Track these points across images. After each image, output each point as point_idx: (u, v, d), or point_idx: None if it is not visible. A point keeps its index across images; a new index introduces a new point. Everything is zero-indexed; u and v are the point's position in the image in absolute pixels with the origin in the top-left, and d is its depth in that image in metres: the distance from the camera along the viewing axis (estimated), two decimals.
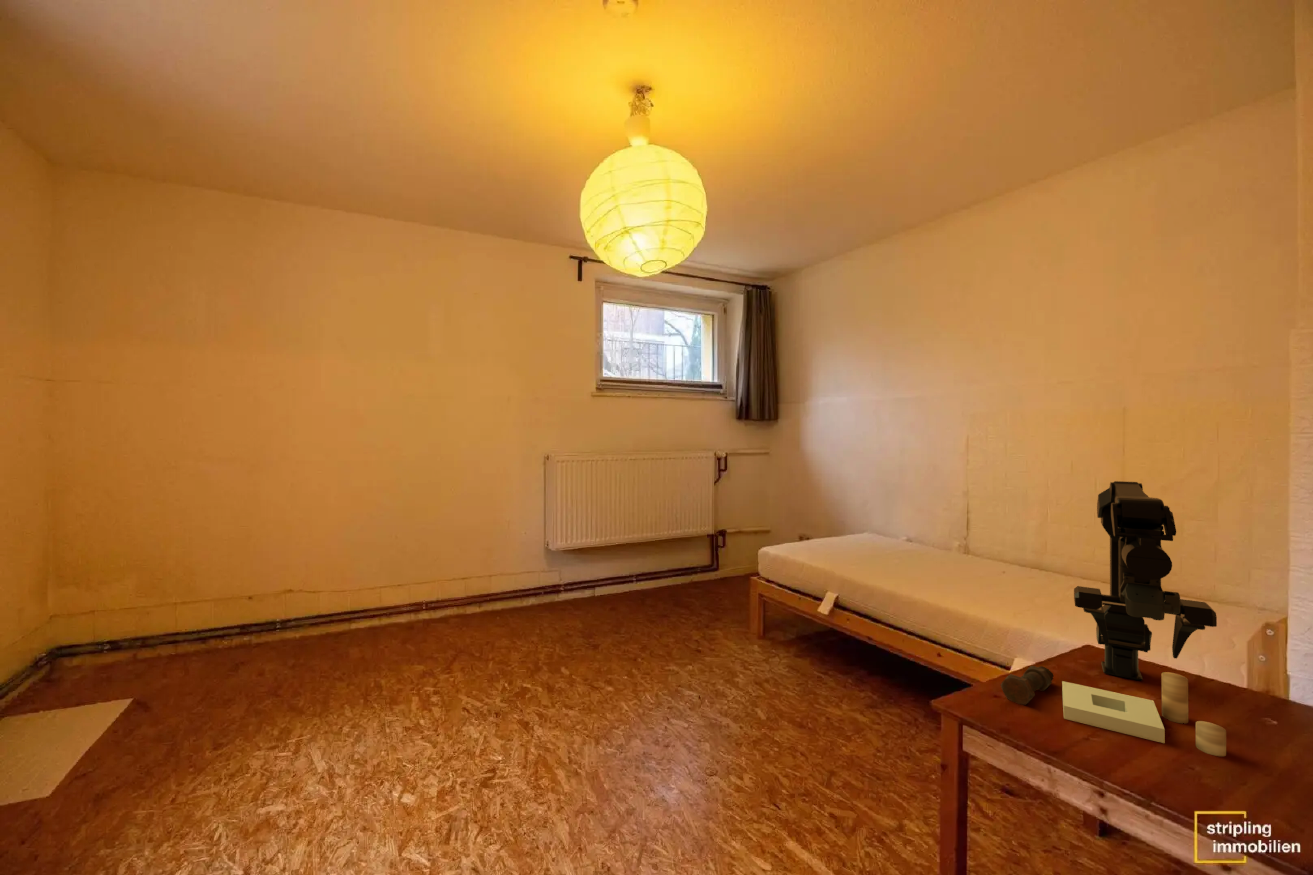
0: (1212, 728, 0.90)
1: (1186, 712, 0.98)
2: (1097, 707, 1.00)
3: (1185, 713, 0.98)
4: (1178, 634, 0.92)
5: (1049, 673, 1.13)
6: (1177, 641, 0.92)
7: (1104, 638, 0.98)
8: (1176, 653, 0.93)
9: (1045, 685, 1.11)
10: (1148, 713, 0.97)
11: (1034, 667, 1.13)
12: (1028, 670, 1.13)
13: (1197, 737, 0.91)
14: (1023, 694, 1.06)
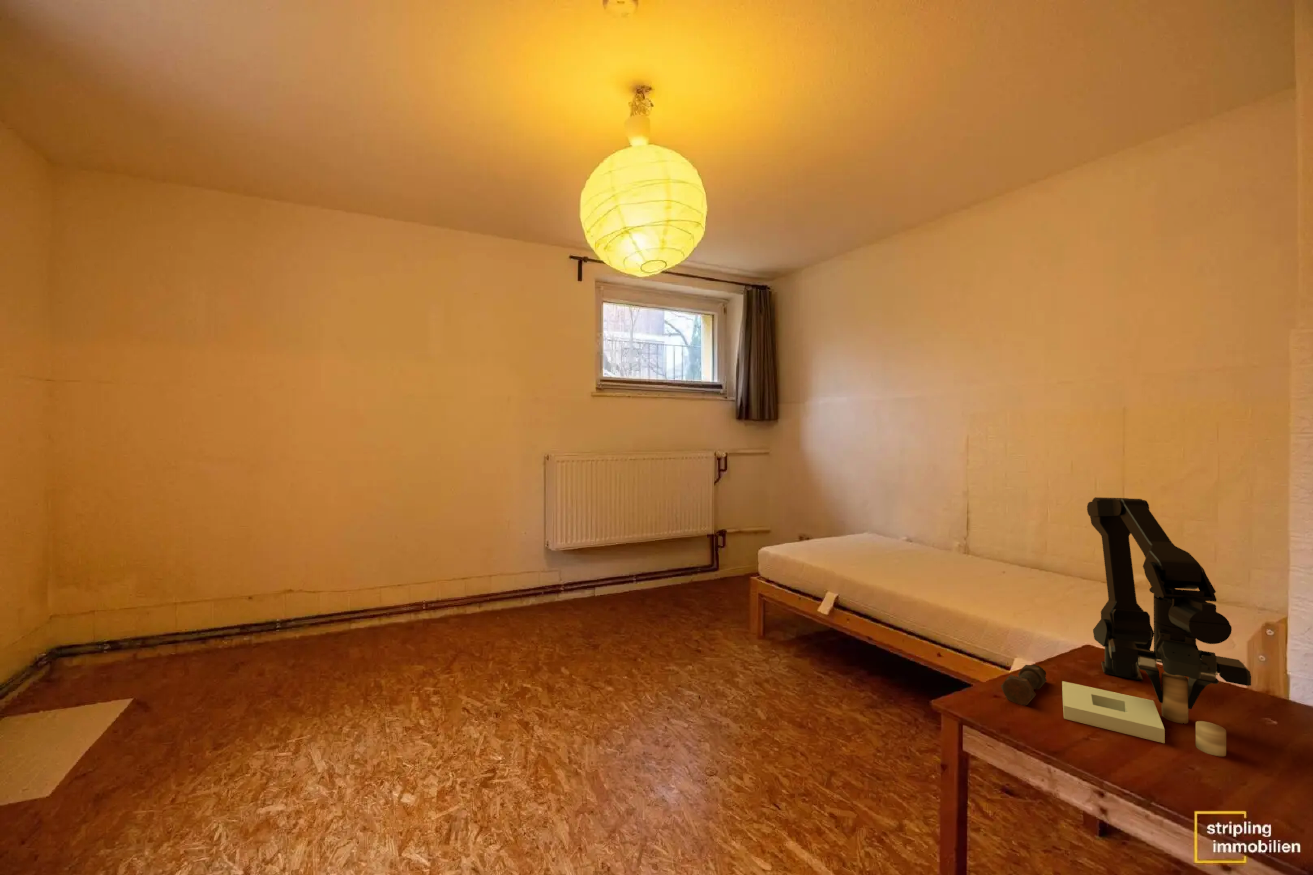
0: (1212, 728, 0.90)
1: (1186, 712, 0.98)
2: (1097, 707, 1.00)
3: (1185, 713, 0.98)
4: (1192, 686, 0.98)
5: (1042, 671, 1.14)
6: (1192, 693, 0.98)
7: (1158, 695, 1.01)
8: (1191, 704, 0.98)
9: (1041, 684, 1.11)
10: (1148, 713, 0.97)
11: (1029, 666, 1.14)
12: (1023, 669, 1.14)
13: (1197, 737, 0.91)
14: (1024, 695, 1.05)
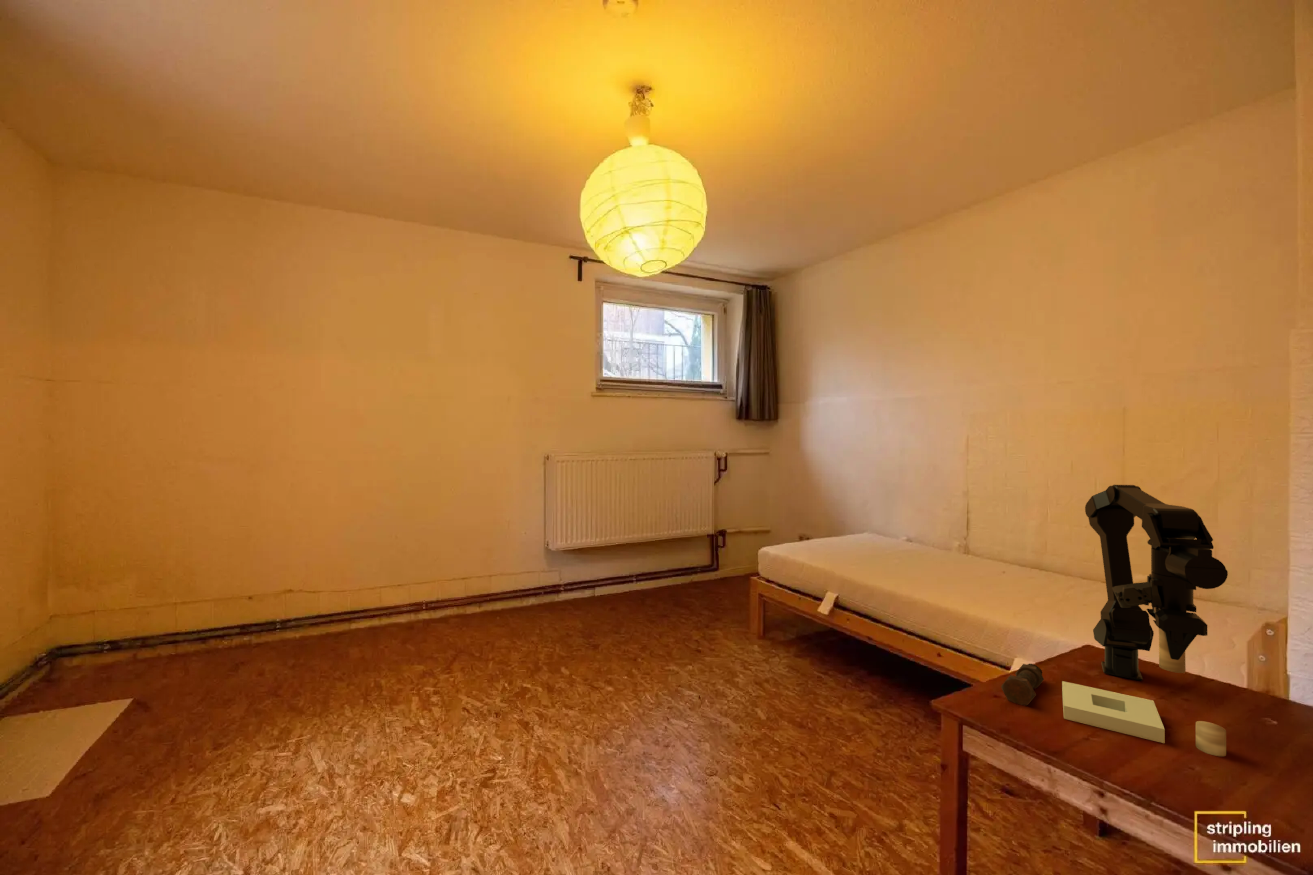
0: (1212, 728, 0.90)
1: (1165, 659, 1.00)
2: (1097, 707, 1.00)
3: (1164, 659, 1.00)
4: None
5: (1039, 670, 1.15)
6: (1166, 640, 0.99)
7: None
8: (1170, 653, 0.99)
9: (1038, 683, 1.12)
10: (1148, 713, 0.97)
11: (1026, 665, 1.14)
12: (1021, 669, 1.14)
13: (1197, 737, 0.91)
14: (1025, 695, 1.05)
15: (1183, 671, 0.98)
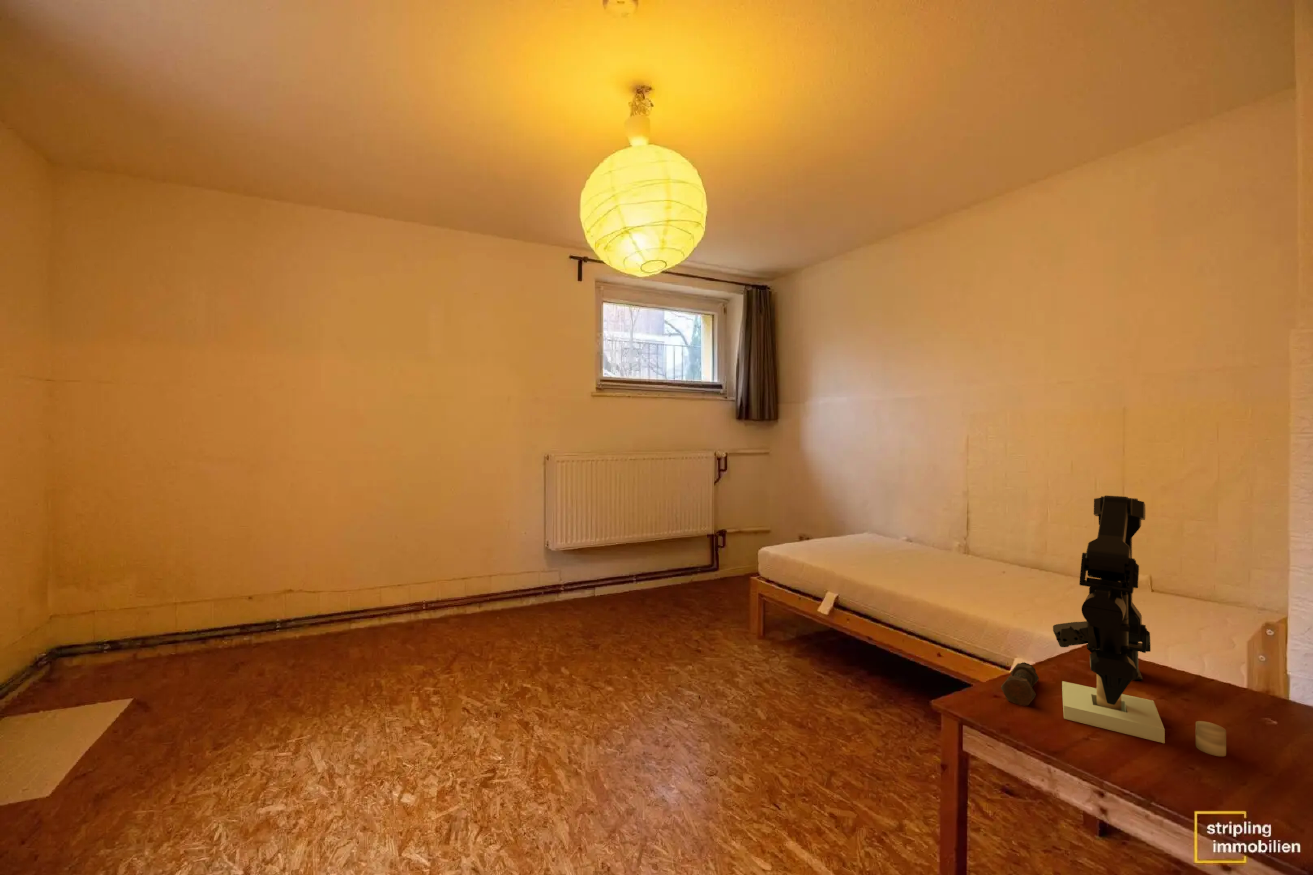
0: (1212, 728, 0.90)
1: None
2: (1097, 707, 1.00)
3: None
4: None
5: (1033, 669, 1.15)
6: None
7: None
8: (1106, 697, 0.98)
9: (1034, 682, 1.12)
10: (1148, 713, 0.97)
11: (1021, 664, 1.14)
12: (1016, 668, 1.14)
13: (1197, 737, 0.91)
14: (1025, 695, 1.05)
15: None
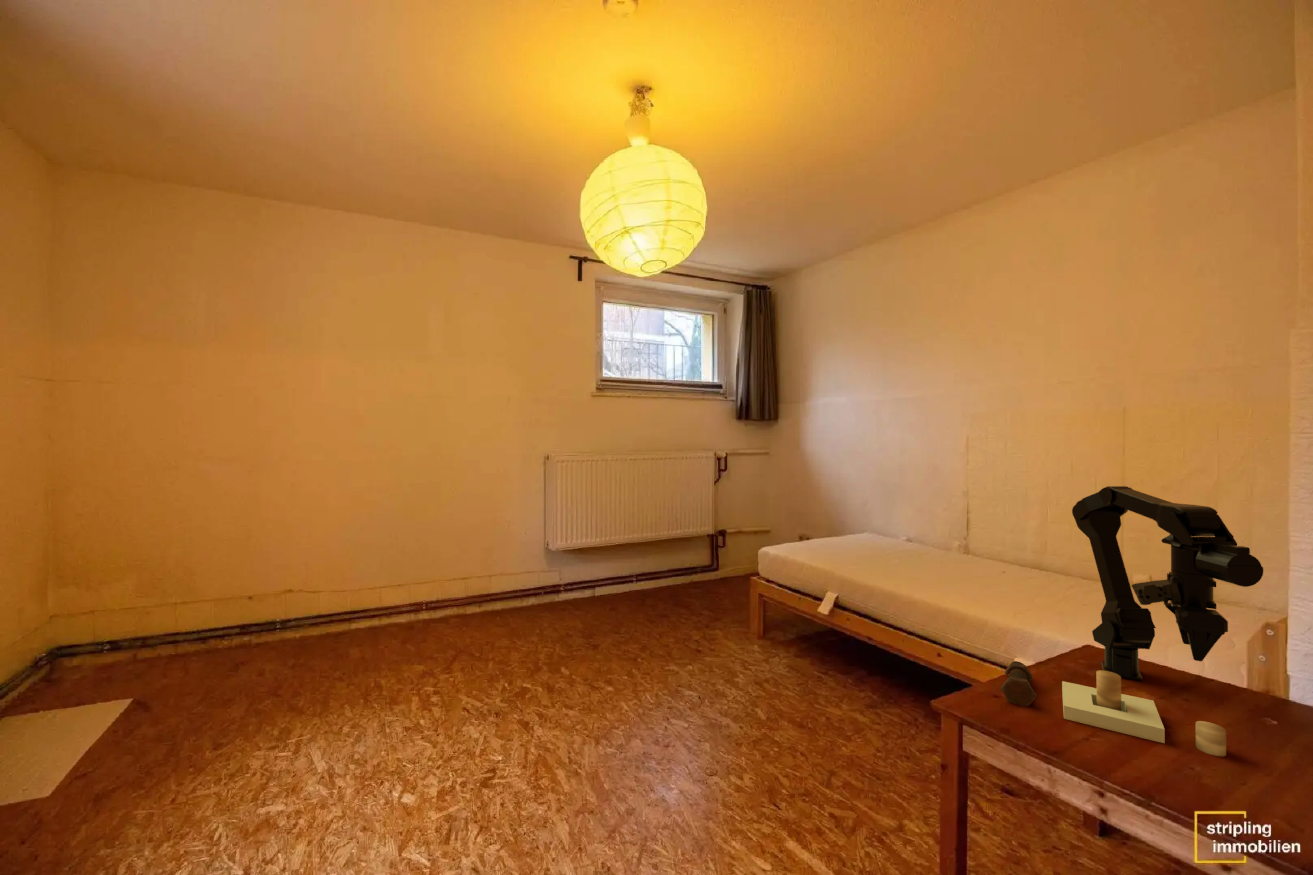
0: (1212, 728, 0.90)
1: None
2: (1097, 707, 1.00)
3: None
4: None
5: None
6: (1189, 641, 0.98)
7: None
8: (1193, 654, 0.98)
9: (1029, 681, 1.13)
10: (1148, 713, 0.97)
11: (1015, 664, 1.15)
12: (1011, 668, 1.15)
13: (1197, 737, 0.91)
14: (1026, 695, 1.05)
15: None
